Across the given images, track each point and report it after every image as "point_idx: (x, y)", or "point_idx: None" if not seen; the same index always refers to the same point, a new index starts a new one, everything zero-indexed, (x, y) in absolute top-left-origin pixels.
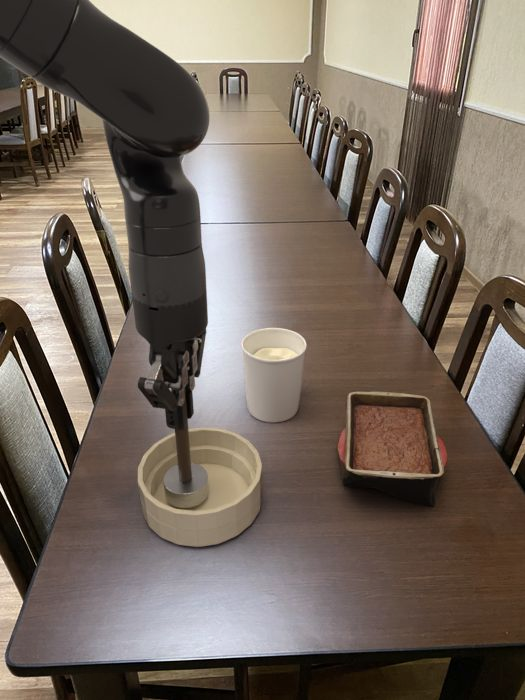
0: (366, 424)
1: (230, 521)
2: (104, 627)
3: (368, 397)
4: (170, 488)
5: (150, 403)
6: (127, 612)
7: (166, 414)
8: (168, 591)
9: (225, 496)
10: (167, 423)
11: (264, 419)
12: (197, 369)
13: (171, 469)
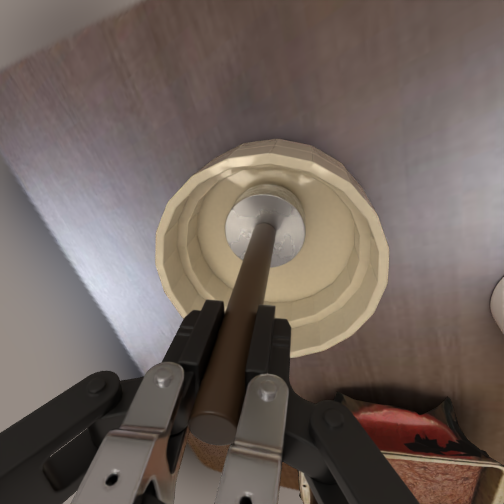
0: (422, 464)
1: None
2: (56, 183)
3: (494, 481)
4: (231, 217)
5: (55, 397)
6: (83, 201)
7: (171, 345)
8: (127, 236)
9: (283, 269)
10: (184, 321)
11: (496, 292)
12: (314, 492)
13: (278, 201)
